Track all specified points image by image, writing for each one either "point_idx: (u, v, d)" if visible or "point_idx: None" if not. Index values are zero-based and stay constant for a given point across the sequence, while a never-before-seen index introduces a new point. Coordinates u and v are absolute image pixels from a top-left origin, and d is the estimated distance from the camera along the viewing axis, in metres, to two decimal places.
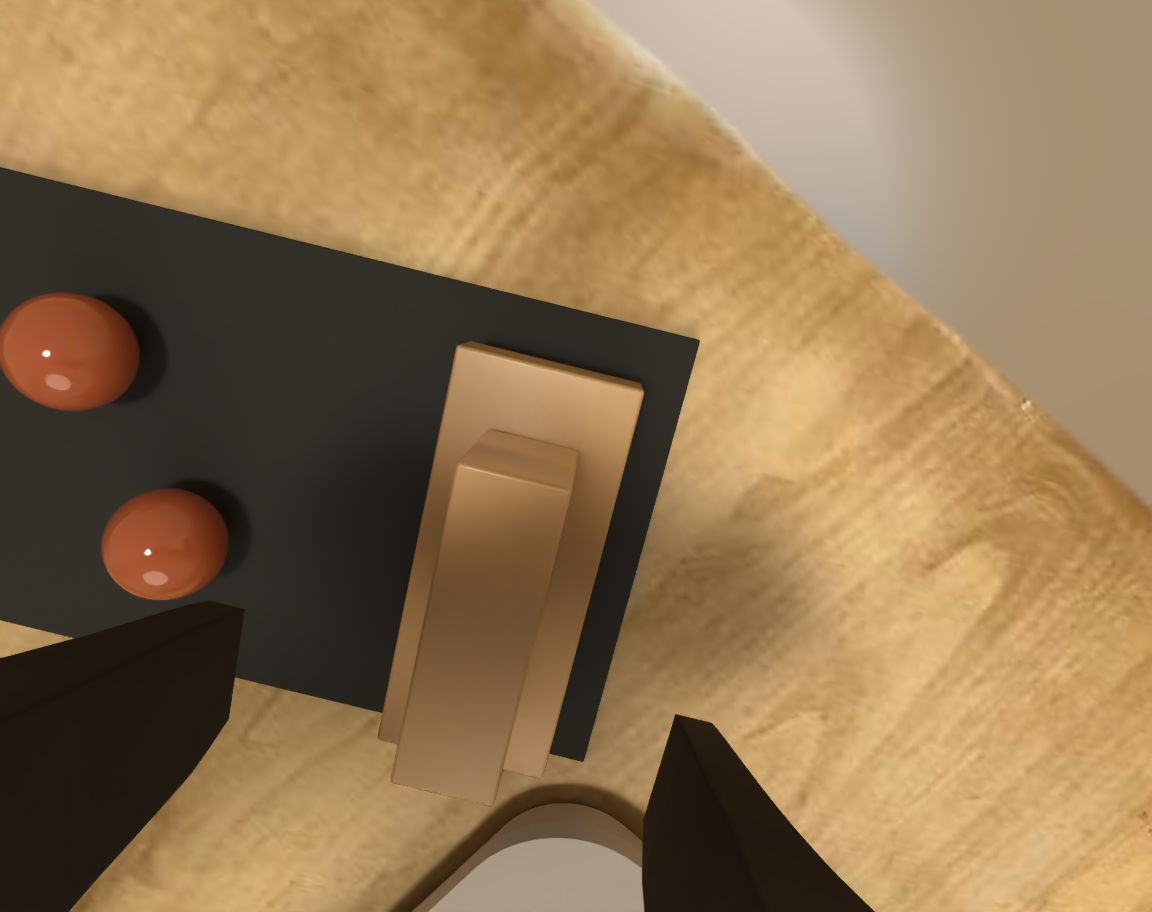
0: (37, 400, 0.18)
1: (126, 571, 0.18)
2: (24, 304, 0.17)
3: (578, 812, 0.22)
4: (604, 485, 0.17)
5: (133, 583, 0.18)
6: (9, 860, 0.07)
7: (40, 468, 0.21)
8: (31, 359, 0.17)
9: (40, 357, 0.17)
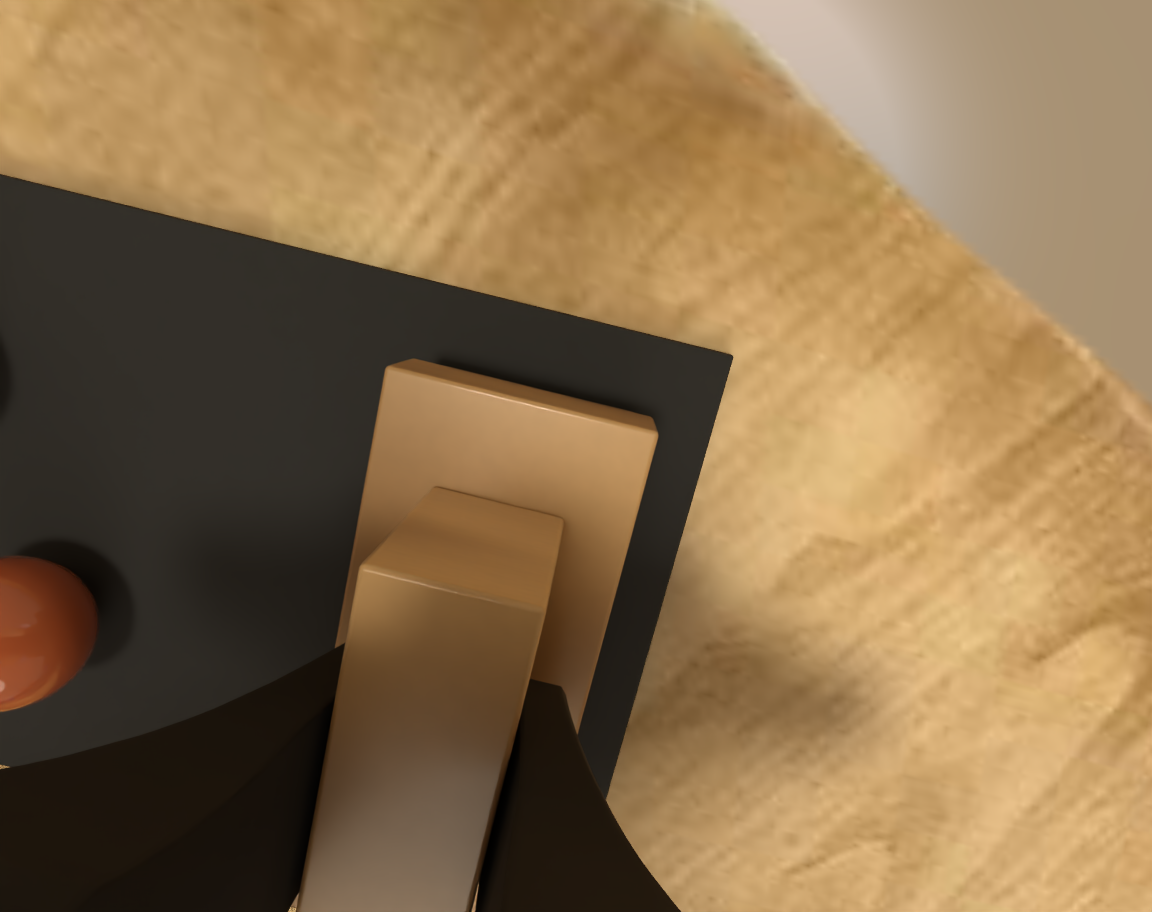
0: None
1: None
2: None
3: None
4: (601, 566, 0.12)
5: None
6: None
7: None
8: None
9: None
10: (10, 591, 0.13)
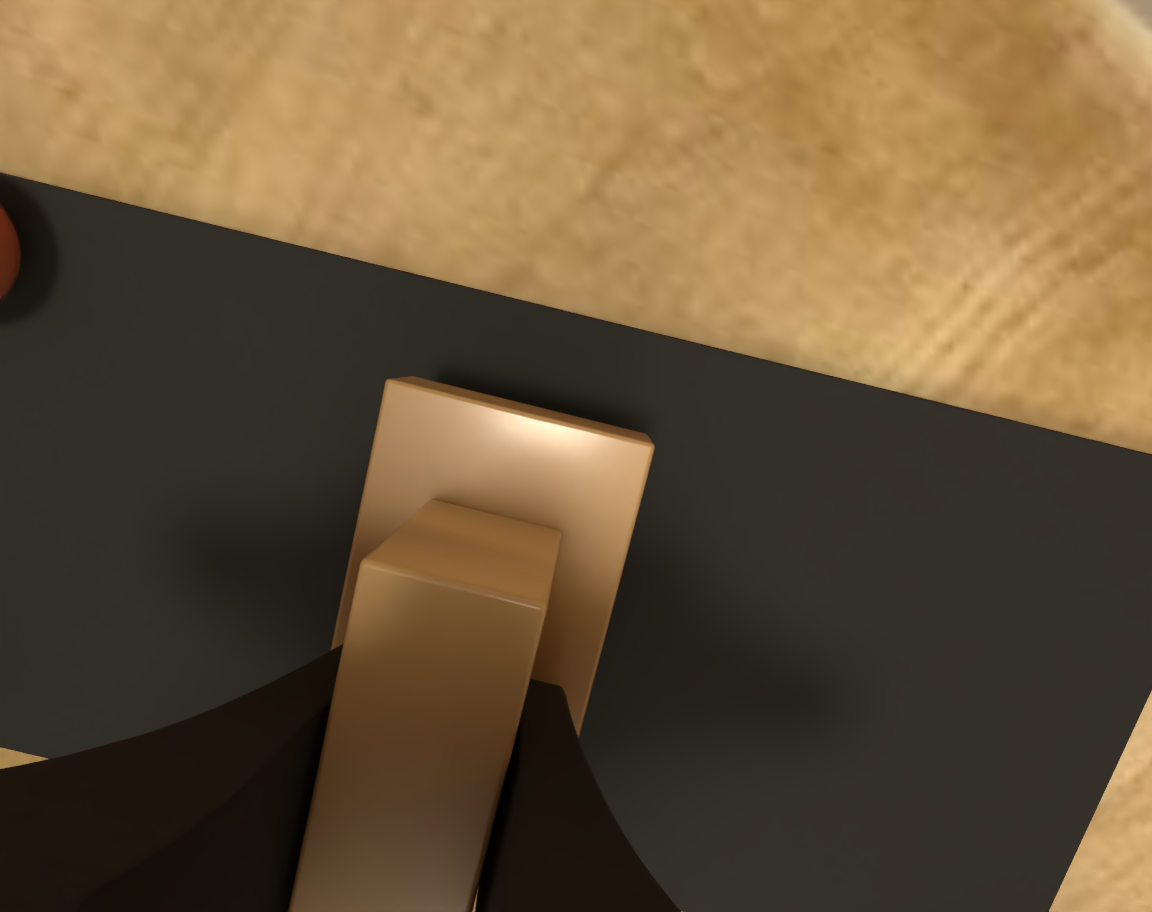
0: None
1: None
2: None
3: None
4: (598, 580, 0.12)
5: None
6: None
7: None
8: None
9: None
10: None
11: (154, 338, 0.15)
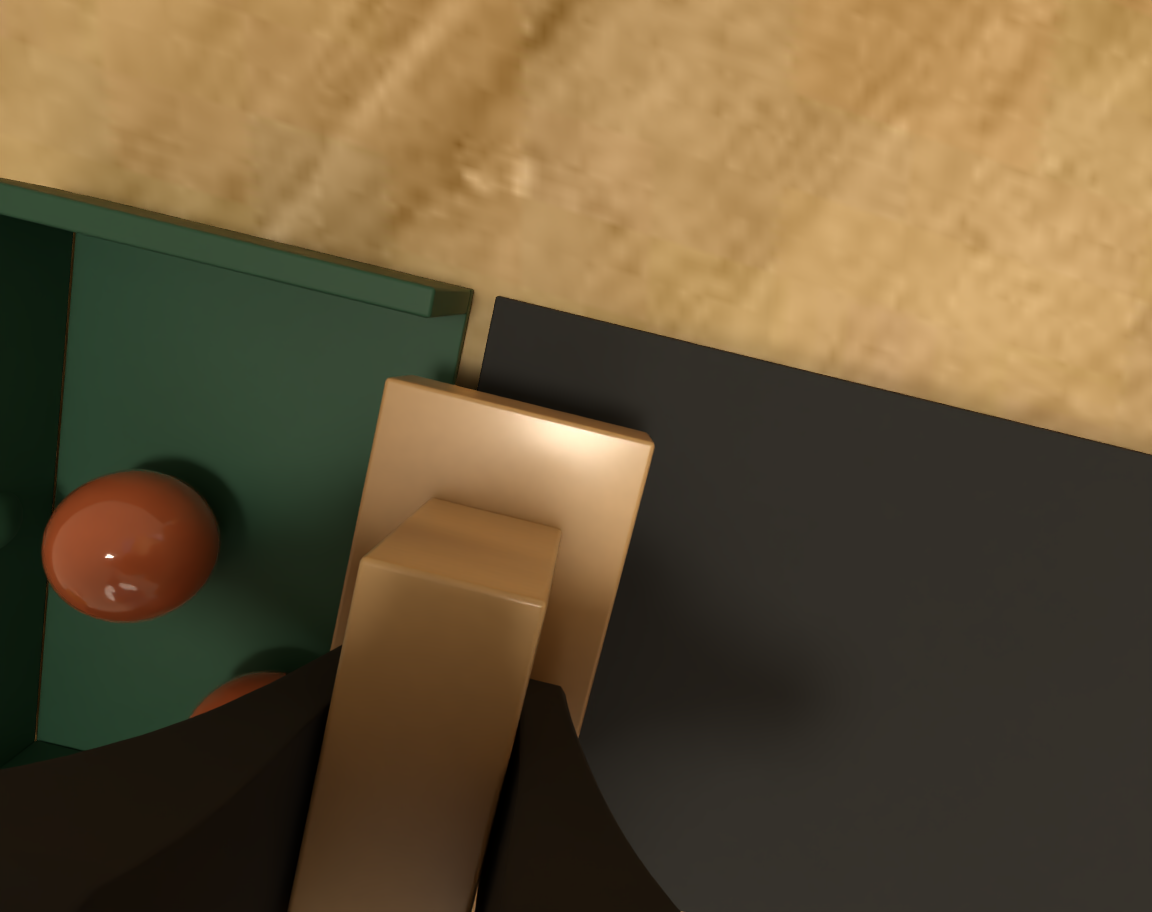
0: None
1: None
2: None
3: None
4: (598, 579, 0.12)
5: None
6: None
7: (827, 748, 0.16)
8: None
9: None
10: None
11: (677, 466, 0.15)
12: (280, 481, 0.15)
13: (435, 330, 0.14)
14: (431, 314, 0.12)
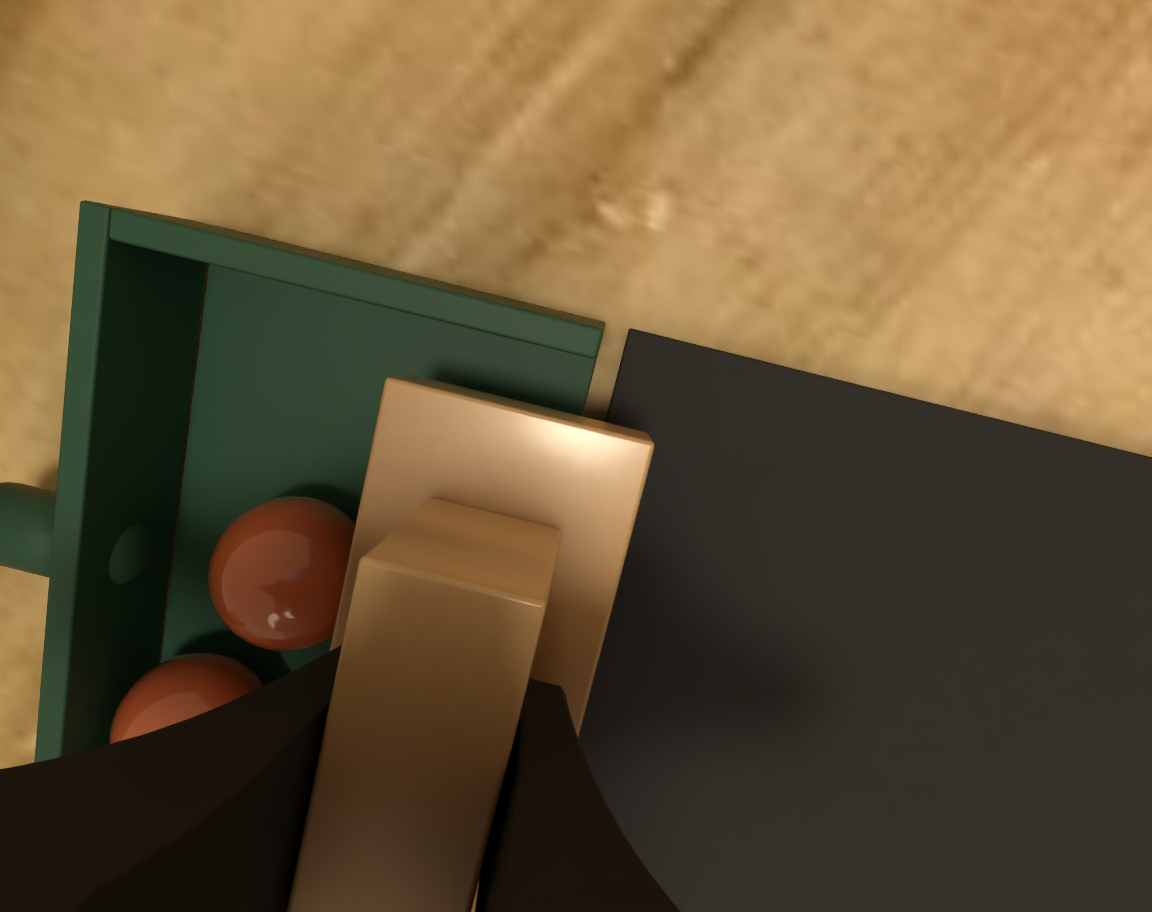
0: None
1: None
2: None
3: None
4: (597, 578, 0.12)
5: None
6: None
7: (944, 777, 0.16)
8: None
9: None
10: (183, 707, 0.14)
11: (805, 498, 0.15)
12: None
13: (567, 362, 0.14)
14: None
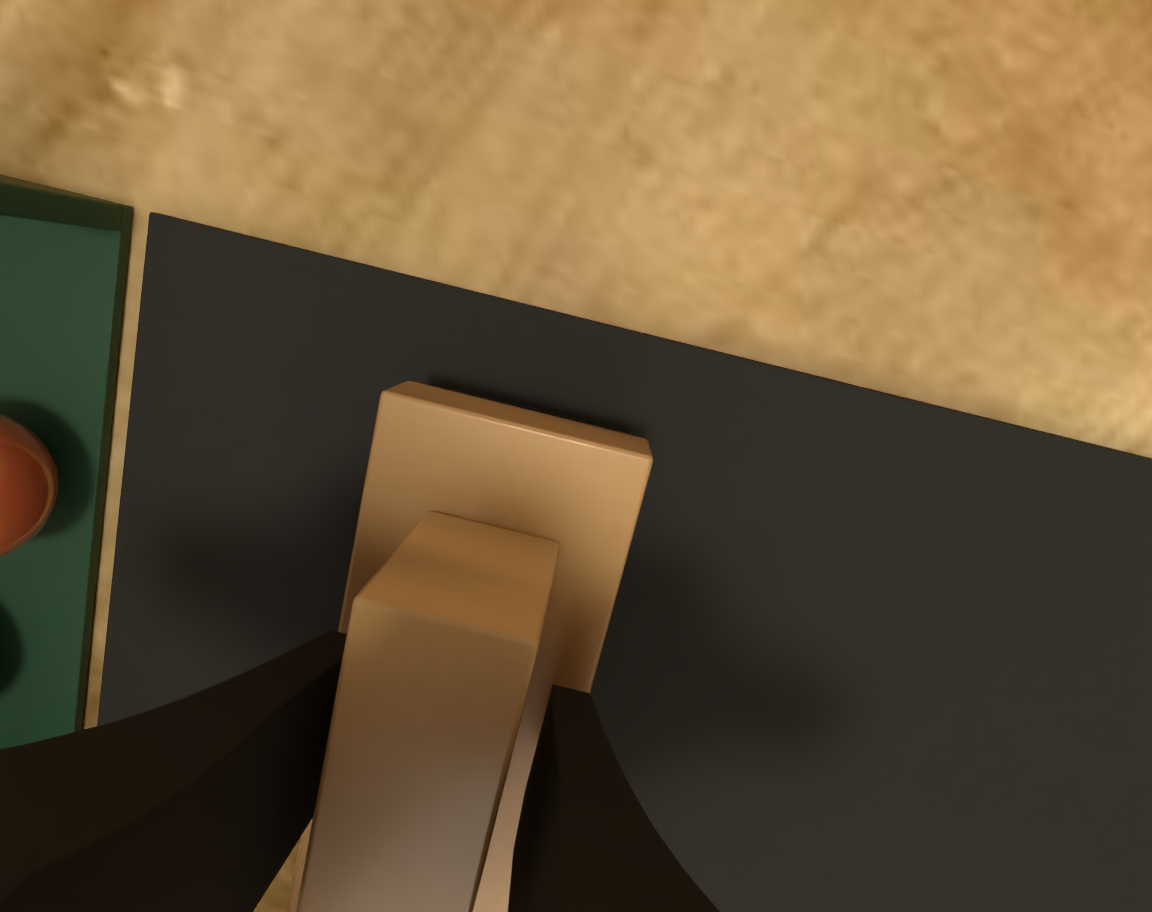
0: None
1: None
2: None
3: None
4: (596, 590, 0.12)
5: None
6: (199, 906, 0.07)
7: None
8: None
9: None
10: None
11: (351, 392, 0.14)
12: None
13: (90, 248, 0.14)
14: None
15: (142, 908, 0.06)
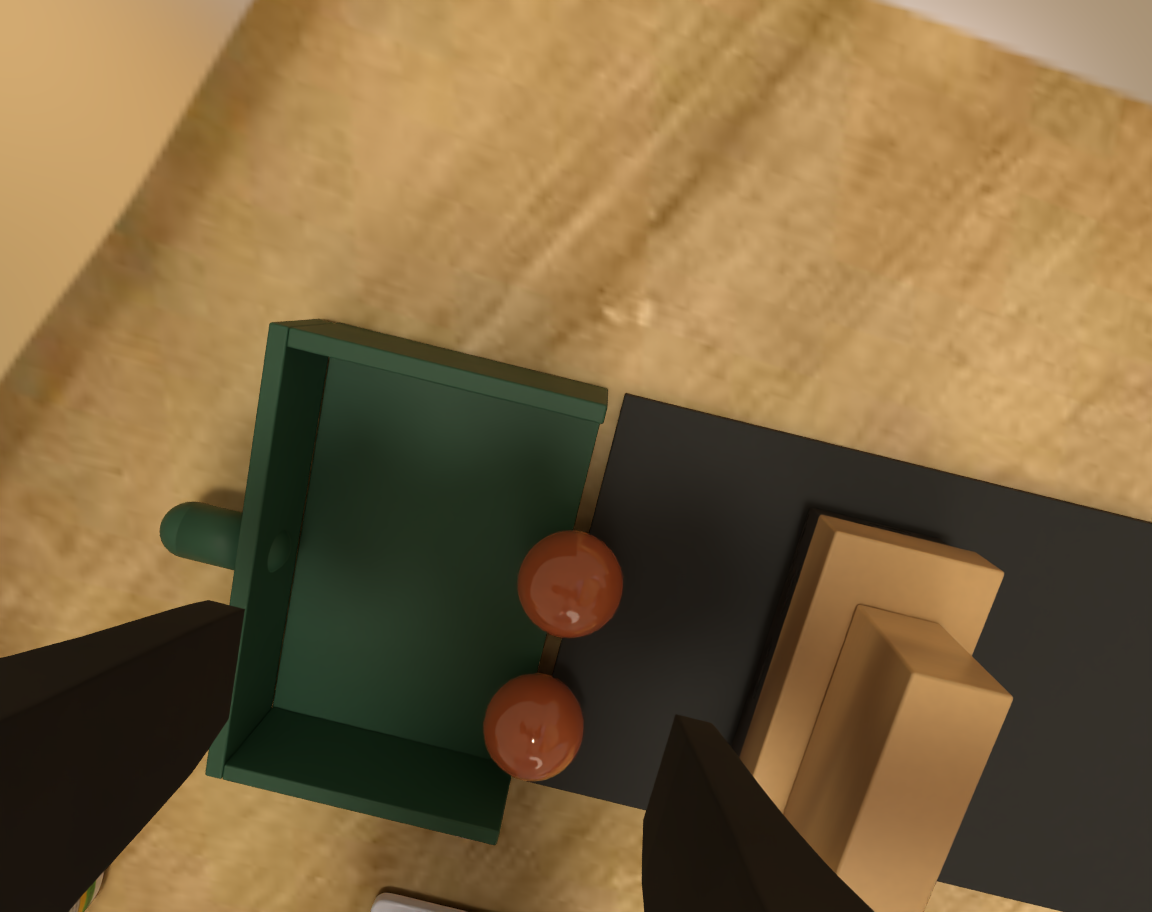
0: None
1: None
2: (583, 636, 0.20)
3: None
4: None
5: None
6: (9, 860, 0.07)
7: None
8: (619, 595, 0.20)
9: (617, 593, 0.19)
10: (511, 681, 0.21)
11: (749, 512, 0.21)
12: (465, 520, 0.22)
13: None
14: (603, 421, 0.18)
15: None
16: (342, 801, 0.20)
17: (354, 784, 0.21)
